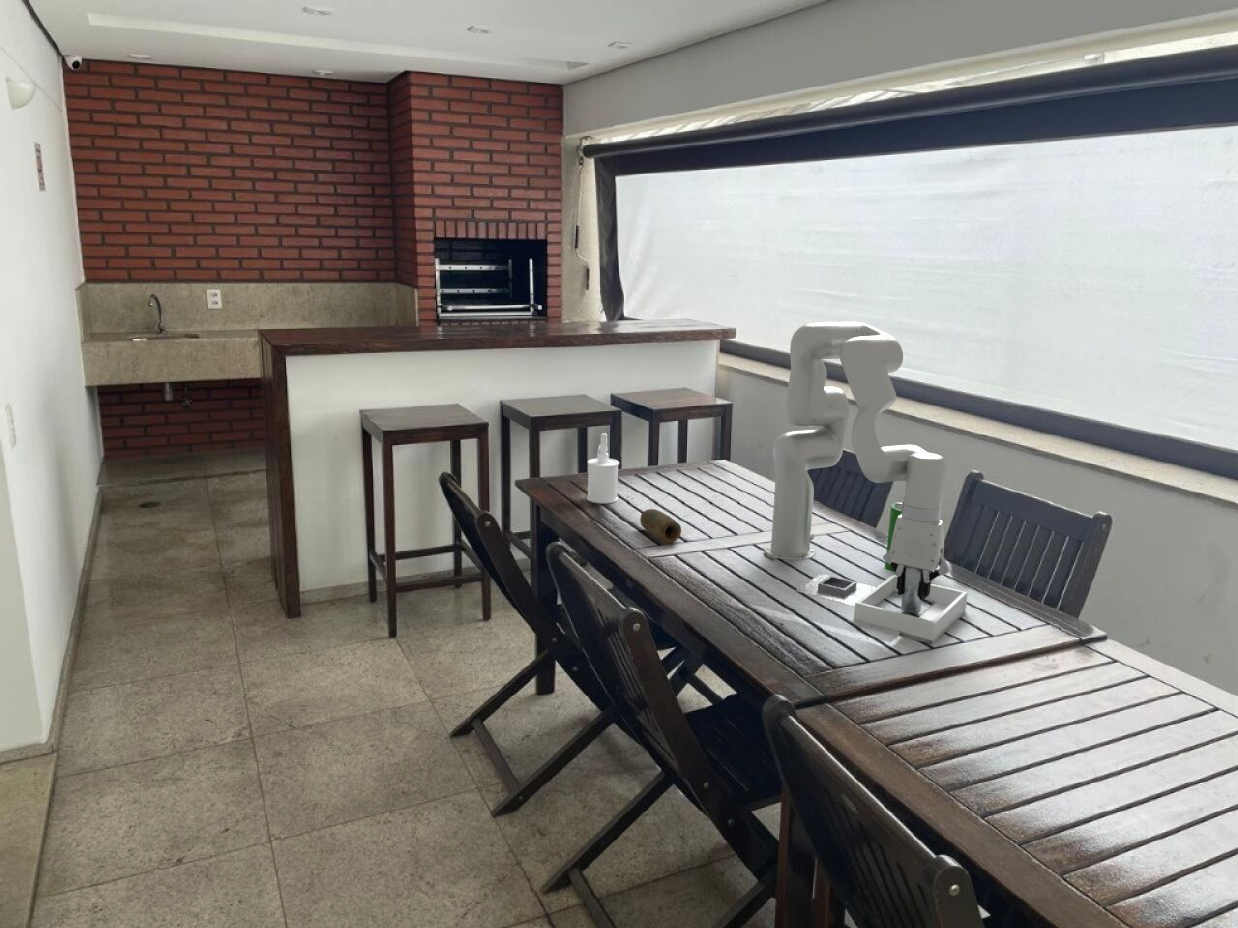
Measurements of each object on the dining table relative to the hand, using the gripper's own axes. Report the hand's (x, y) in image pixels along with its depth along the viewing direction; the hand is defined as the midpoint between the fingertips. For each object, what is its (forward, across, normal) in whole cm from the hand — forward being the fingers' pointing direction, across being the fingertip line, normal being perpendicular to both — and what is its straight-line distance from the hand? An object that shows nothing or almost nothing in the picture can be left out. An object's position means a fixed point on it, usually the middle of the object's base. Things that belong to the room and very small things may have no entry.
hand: (912, 594), depth 204 cm
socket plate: (+5, -18, +3) cm, 19 cm away
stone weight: (+6, -71, +11) cm, 72 cm away
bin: (+5, 0, 0) cm, 5 cm away
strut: (+3, 0, 0) cm, 3 cm away
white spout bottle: (+5, -104, +30) cm, 108 cm away
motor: (+5, -11, +28) cm, 30 cm away
